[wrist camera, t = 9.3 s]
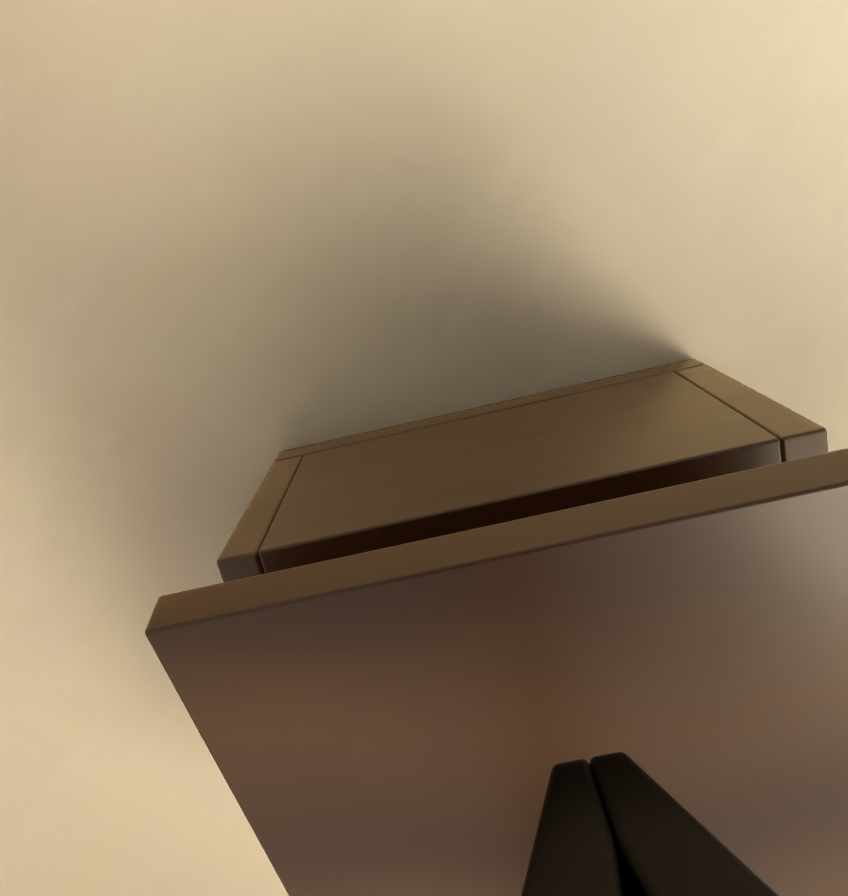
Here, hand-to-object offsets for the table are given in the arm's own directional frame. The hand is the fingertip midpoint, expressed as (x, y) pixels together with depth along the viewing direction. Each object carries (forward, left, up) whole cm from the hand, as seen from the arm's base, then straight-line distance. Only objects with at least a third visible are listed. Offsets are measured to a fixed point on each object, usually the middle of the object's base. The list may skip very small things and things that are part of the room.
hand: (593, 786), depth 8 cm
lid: (-3, +3, -4) cm, 6 cm away
